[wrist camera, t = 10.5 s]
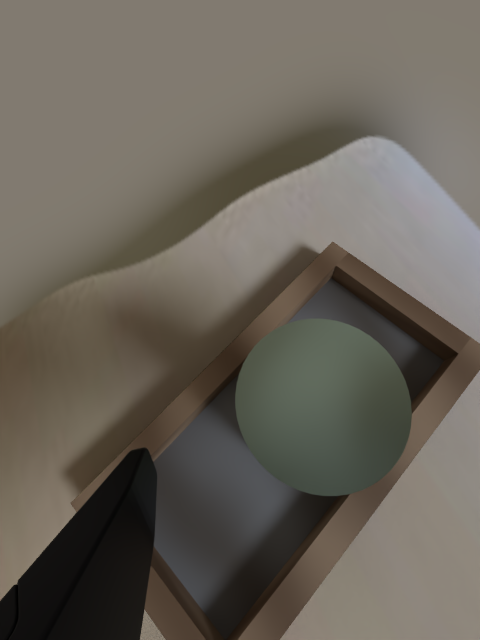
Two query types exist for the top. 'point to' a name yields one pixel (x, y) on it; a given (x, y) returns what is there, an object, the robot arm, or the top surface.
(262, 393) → the post
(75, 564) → the robot arm
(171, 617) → the brown wooden flat tray
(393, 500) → the top surface
